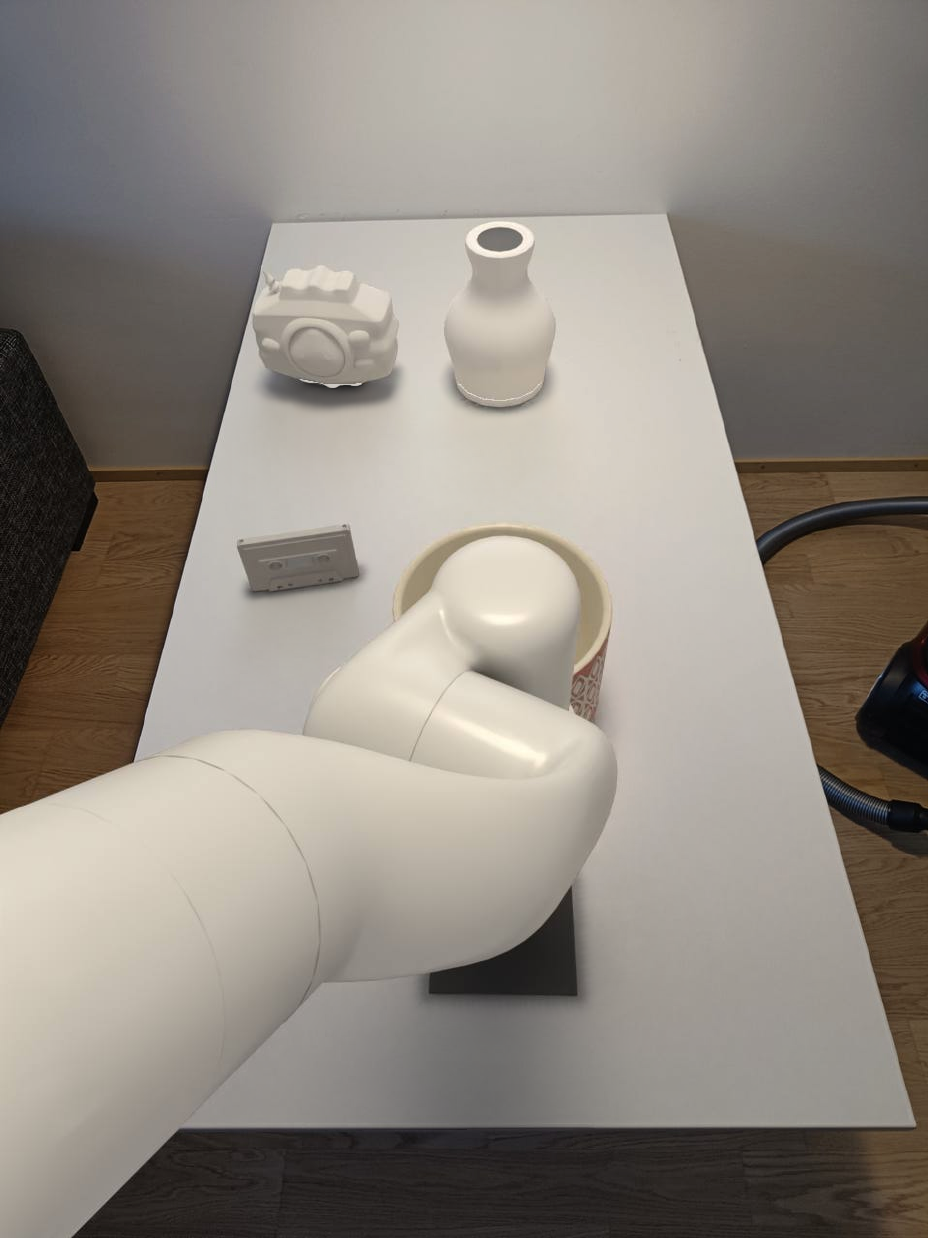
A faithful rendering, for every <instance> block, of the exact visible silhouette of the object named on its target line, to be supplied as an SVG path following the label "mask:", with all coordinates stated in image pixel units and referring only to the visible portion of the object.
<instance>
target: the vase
mask: <svg viewBox="0 0 928 1238" xmlns="http://www.w3.org/2000/svg"><path fill="white" fill-rule="evenodd" d="M464 241H465V242H464V245H465V252H466V255H467V257H468V259H469V262H470V265H471V269H472V271H471V272H472V275H471V278H470V279H469V280H468V281H467V283H466V284H465V285H464V286H463V287H462V288H461V289H460V290H459V292H457V293H456V294H455V296H454V297H453V299H452V301H451V302H450V305H449V307H448V310H447V313H446V316H445V319H444V324H443V332H444V333H443V334H444V335H443V336H444V339H445V344H446V347H447V351H448V354H449V357H450V360H451V363H452V367H453V371H454V380H455V383H456V386H457V389H458V391H459V392H460V393H461V394H462V395H463V396H464V397H465V398H466V399H467V400H469V401H471V402H474V403H476V404H478V405H481V406H484V407H493V408H506V407H513V406H519V405H521V404H523V403H526V402H527V401H529V400H532V399H533V398H535V397H536V395H538V393H539V392H540V391H541V390H542V389H543V385H544V382H545V377H546V376H545V374H546V370H547V367H548V363H549V360H550V357H551V353H552V350H553V345H554V341H555V335H556V331H557V328H556V327H557V323H556V316H555V314H554V310H553V309H552V306H551V304H550V302H549V300H548V298H547V296H546V295H545V293H544V292H543V291H542V290H541V288H539V287H538V286H537V285H536V284H535V283H534V282H533V281H532V280H531V279H530V276H529V273H528V267H529V265H530V262H531V259H532V257H533V252H534V249H535V245H536V243H535V236H534V234H533V232H532V230H530V229H529V228H528V227H526V226H525V225H523V224H520V223H517V222H514V221H502V220H497V221H490V222H485V223H483V224H479V225H477V226H475V227H474V228H472V229H471V230H469V232H467V235H466V238H465V240H464ZM455 374H456V375H455ZM456 378H457V379H456ZM542 380H543V381H542ZM457 381H458V382H457ZM541 382H542V383H541ZM458 383H459V384H461V385H462V387H464V389H465V390H467V392H469V393H472V394H474V395H476V396H478V397H481V398H484V399H486V398H487V399H494V400H506V399H511V398H518V397H521V396H523V395H525V394H527V393H529V392H531V391H533V390H534V389H535V388H536V387H537V386H538V384H540V383H541V384H540V385H539V386H538V387H537V388H536V389H535V390H534V391H533V392H532V393H530V394H528V395H525V396H523V397H521V398H519V399H513V400H507V401H492V400H483V399H480V398H478V397H475V396H473V395H471V394H468V393H467V392H466V391H465V390H464V389H463V388H462V387H461V386H460V385H458Z"/></svg>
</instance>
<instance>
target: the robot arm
mask: <svg viewBox="0 0 928 1238" xmlns="http://www.w3.org/2000/svg"><path fill="white" fill-rule="evenodd" d="M580 607H581V603H580V591H579V588H578V585H577V582H576V579H575V576H574V574H573V573H572V571H571V569H570V568H569V566H568V565H567V563H566V562H565V561H564V560H563V559H562V558H561V557H560V556H559V555H558V554H556V553H555V552H554V551H552V550H551V549H549V548H548V547H546V546H544V545H542V544H540V543H538V542H536V541H533V540H530V539H527V538H522V537H517V536H492V537H487V538H483V539H479V540H476V541H474V542H471V543H469V544H467V545H465V546H463V547H462V548H460V549H458V550H457V551H456V552H455V553H453V554H452V555H451V556H449V557H448V559H447V560H446V561H445V562H444V563H443V564H442V566H441V567H440V569H439V571H438V572H437V574H436V576H435V578H434V580H433V583H432V586H431V588H430V590H429V591H428V592H427V593H426V594H425V595H424V596H423V597H422V598H421V599H420V600H419V601H417V602H416V603H415V604H414V605H413V606H412V607H411V608H409V609H408V610H407V611H406V612H405V613H404V614H403V615H402V616H400V617H399V618H398V619H397V620H396V621H394V620H393V622H392V623H391V624H390V625H388V626H387V627H386V628H384V629H383V630H382V631H380V633H378V634H377V635H376V636H375V637H373V638H372V639H371V640H369V642H367V643H366V644H365V645H364V646H363V647H361V648H360V649H358V650H357V652H355V653H354V654H353V655H352V656H351V657H349V658H348V660H347V661H346V662H345V663H343V664H342V665H340V666H338V667H337V668H335V669H334V670H333V671H332V672H331V673H330V674H329V675H328V676H327V677H326V678H325V679H324V680H323V682H322V683H321V684H320V686H319V688H318V689H317V690H316V692H315V694H314V696H313V698H312V700H311V703H310V705H309V708H308V712H307V715H306V718H305V720H304V724H303V728H302V734H295V733H290V732H289V733H288V732H281V731H275V730H266V729H265V730H264V729H252V728H250V729H249V728H239V729H227V730H218V731H217V730H215V731H212V732H208V733H203V734H200V735H197V736H195V737H191V738H189V739H187V740H184V741H182V742H180V743H178V744H175V745H173V746H170V747H169V748H166V749H164V750H161V751H159V752H156V753H154V754H151V755H148V756H145V757H143V758H141V759H138V760H136V761H134V762H131V763H129V764H126V765H123V766H121V767H118V768H117V769H114V770H111V771H109V772H106V773H104V774H101V775H97V776H96V777H94V778H91V779H88V780H86V781H84V782H81V783H79V784H76V785H74V786H71V787H69V788H65V789H63V790H61V791H58V792H56V793H53V794H51V795H48V796H45V797H43V798H41V799H38V800H36V801H33V802H31V803H28V804H26V805H23V806H20V807H17V808H14V809H11V810H9V811H7V812H3V813H1V814H0V1238H72V1237H74V1236H75V1234H76V1233H77V1232H78V1231H79V1230H80V1229H82V1227H84V1225H85V1224H86V1223H88V1221H89V1220H91V1218H92V1217H94V1215H95V1214H96V1213H97V1212H98V1211H99V1210H100V1209H101V1208H102V1207H103V1206H104V1205H105V1204H107V1202H108V1201H109V1200H110V1199H112V1197H113V1196H114V1195H115V1194H116V1193H117V1192H119V1190H120V1189H121V1188H123V1186H124V1185H125V1184H126V1183H127V1182H128V1181H129V1180H130V1179H132V1177H133V1176H134V1175H135V1174H136V1173H137V1172H139V1170H140V1169H141V1168H142V1167H143V1166H144V1165H145V1164H146V1163H147V1162H148V1161H149V1160H150V1159H151V1158H152V1157H153V1156H154V1155H155V1154H156V1153H157V1152H158V1151H159V1150H160V1149H161V1148H162V1147H163V1146H164V1145H165V1144H166V1143H167V1142H168V1141H169V1140H170V1139H171V1138H172V1137H173V1136H174V1135H175V1133H177V1132H178V1131H179V1130H180V1129H181V1128H182V1127H183V1125H185V1124H186V1123H187V1122H188V1121H189V1120H190V1119H191V1118H192V1117H193V1115H195V1113H196V1112H197V1111H198V1110H199V1109H200V1108H201V1107H202V1106H203V1105H204V1104H205V1103H206V1102H207V1101H208V1100H209V1099H210V1098H211V1097H212V1096H213V1095H214V1094H215V1092H217V1091H218V1090H219V1089H220V1088H221V1087H222V1086H223V1085H224V1083H226V1081H228V1080H229V1078H230V1077H232V1075H234V1074H235V1073H236V1071H238V1070H239V1068H241V1066H242V1065H244V1063H246V1062H247V1060H249V1059H250V1058H251V1057H252V1056H253V1055H254V1054H256V1052H257V1051H258V1050H259V1049H260V1048H261V1047H262V1046H263V1045H264V1044H265V1042H267V1041H268V1040H269V1038H271V1037H272V1036H273V1034H274V1033H276V1031H277V1030H279V1028H280V1027H281V1026H282V1025H283V1024H285V1023H286V1022H287V1021H288V1020H289V1019H290V1018H291V1016H293V1015H294V1013H296V1011H298V1009H299V1008H300V1007H302V1005H304V1003H305V1002H306V1001H307V1000H308V999H309V997H311V995H312V994H313V993H315V991H316V990H317V989H318V988H319V987H320V986H321V985H322V984H327V983H329V984H331V983H333V984H334V983H360V982H375V981H385V980H393V979H401V978H408V977H413V976H420V975H425V974H430V973H431V972H436V971H441V970H445V969H450V968H455V967H460V966H465V965H469V964H473V963H476V962H480V961H483V960H487V959H490V958H493V957H495V956H497V955H500V954H502V953H504V952H507V951H509V950H510V949H512V948H514V947H515V946H517V945H519V944H520V943H522V942H523V941H525V940H526V939H527V938H529V937H530V936H531V935H532V934H533V933H535V932H536V931H537V930H538V929H539V928H540V927H541V926H542V925H543V924H544V923H545V921H546V920H547V919H548V918H549V917H550V915H551V914H552V913H553V912H554V910H555V909H556V908H557V906H558V905H559V903H560V902H561V900H562V898H563V897H564V895H565V894H566V893H567V891H568V889H569V888H570V886H571V885H573V883H574V882H575V880H576V878H577V877H578V876H579V874H580V873H581V870H582V869H583V867H584V865H585V864H586V862H587V861H588V859H589V858H590V856H591V854H592V852H593V850H594V849H595V847H596V845H597V844H598V842H599V839H600V838H601V836H602V833H603V831H604V829H605V827H606V824H607V823H608V821H609V817H610V815H611V811H612V808H613V804H614V801H615V798H616V792H617V788H618V760H617V756H616V753H615V750H614V747H613V745H612V743H611V741H610V740H609V738H608V736H607V735H606V734H605V733H604V731H603V730H601V728H599V727H598V726H597V725H595V724H594V723H592V721H591V722H589V721H588V720H586V719H584V718H582V717H580V716H578V715H576V714H575V713H574V710H573V708H572V706H571V704H570V698H571V690H572V681H573V673H574V665H575V656H576V648H577V639H578V631H579V623H580Z"/></svg>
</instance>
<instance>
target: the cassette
mask: <svg viewBox="0 0 928 1238" xmlns="http://www.w3.org/2000/svg"><path fill="white" fill-rule="evenodd" d="M236 549H237V551H238V554H239V556H240V560H241V563H242V565H243V569H244V572H245V574H246V577H247V581H248V583H249V586H250V588H251V591H253V592H261V591H269V592H276V591H283V590H290V589H296V588H303V587H304V588H305V587H311V586H317V585H324V584H330V583H336V582H343V581H344V579H349V578H355V577H359V573H360V569H359V565H358V563H359V562H358V560H357V557H356V552H355V551H356V550H355V546H354V541H353V535H352V531H351V526H350V525H349V523H343V524H338V525H330V526H324V527H317V528H310V529H303V530H296V531H289V532H282V533H273V534H268V535H261V536H253V537H246V538H240V539H237V541H236Z"/></svg>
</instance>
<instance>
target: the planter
mask: <svg viewBox="0 0 928 1238" xmlns="http://www.w3.org/2000/svg"><path fill="white" fill-rule="evenodd" d="M492 536H517V537H522V538H527V539H530V540H533V541H536V542H538V543H540V544H542V545H544V546H546V547H548V548H549V549H551V550H552V551H554V552H555V553H556V554H558V555H559V556H560V557H561V558H562V559H563V560H564V561H565V562H566V563H567V565H568V566H569V568H570V569H571V571H572V573H573V574H574V576H575V579H576V582H577V585H578V588H579V591H580V603H581V607H580V623H579V631H578V639H577V648H576V656H575V665H574V673H573V681H572V690H571V698H570V704H571V706H572V708H573V710H574V713H575V714H576V715H578V716H580V717H582V718H584V719H586V720H588V721H589V722H591V723H592V721H593V719H594V716H595V714H596V710H597V707H598V704H599V699H600V692H601V686H602V680H603V674H604V668H605V662H606V657H607V651H608V646H609V645H608V644H609V638H610V634H611V627H612V621H613V620H612V619H613V602H612V595H611V591H610V588H609V585H608V581H607V580H606V578H605V576H604V574H603V572H602V570H601V569H600V567H599V566H598V565H597V563H595V561H594V560H593V558H592V557H591V556H590V555H589V554H588V553H586V552H585V551H584V550H583V549H582V548H581V547H580V546H579V545H577V544H575V543H574V542H572V541H571V540H570V539H568V538H566V537H563V535H560V534H558V533H556V532H554V531H551V530H548V529H545V528H542V527H539V526H535V525H531V524H526V523H525V524H524V523H518V522H488V523H479V524H475V525H469V526H466V527H461V528H459V529H457V530H454V531H451V532H448V533H447V534H445V535H442V536H440V537H439V538H437V539H435V540H434V541H432V542H431V543H430V544H428V545H426V546H425V547H424V548H422V549H421V550H420V552H418V553H417V555H415V556H414V557H413V558H412V559H411V560H410V562H409V563H408V565H407V566H406V567H405V569H404V570H403V572H402V574H401V576H400V578H399V580H398V581H397V583H396V588H395V591H394V594H393V599H392V601H393V602H392V619H393V622H394V621H396V620H397V619H398V618H399V617H400V616H402V615H403V614H404V613H405V612H406V611H407V610H408V609H409V608H411V607H412V606H413V605H414V604H415V603H416V602H417V601H419V600H420V599H421V598H422V597H423V596H424V595H425V594H426V593H427V592H428V591H429V590H430V588H431V586H432V583H433V580H434V578H435V576H436V574H437V572H438V571H439V569H440V567H441V566H442V564H443V563H444V562H445V561H446V560H447V559H448V557H449V556H451V555H452V554H453V553H455V552H456V551H457V550H458V549H460V548H462V547H463V546H465V545H467V544H469V543H471V542H474V541H476V540H479V539H483V538H487V537H492Z"/></svg>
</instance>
